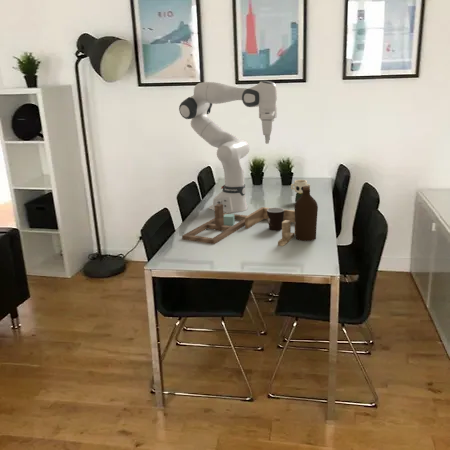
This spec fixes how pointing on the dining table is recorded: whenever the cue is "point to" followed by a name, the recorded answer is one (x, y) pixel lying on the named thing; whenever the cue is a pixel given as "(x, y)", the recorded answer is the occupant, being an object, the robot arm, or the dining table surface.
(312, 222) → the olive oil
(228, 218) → the teal cube
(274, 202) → the dining table surface
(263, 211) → the frame
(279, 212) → the coffee mug
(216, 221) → the brown rectangular open frame
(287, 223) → the tan blocky wooden part
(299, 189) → the character mug
